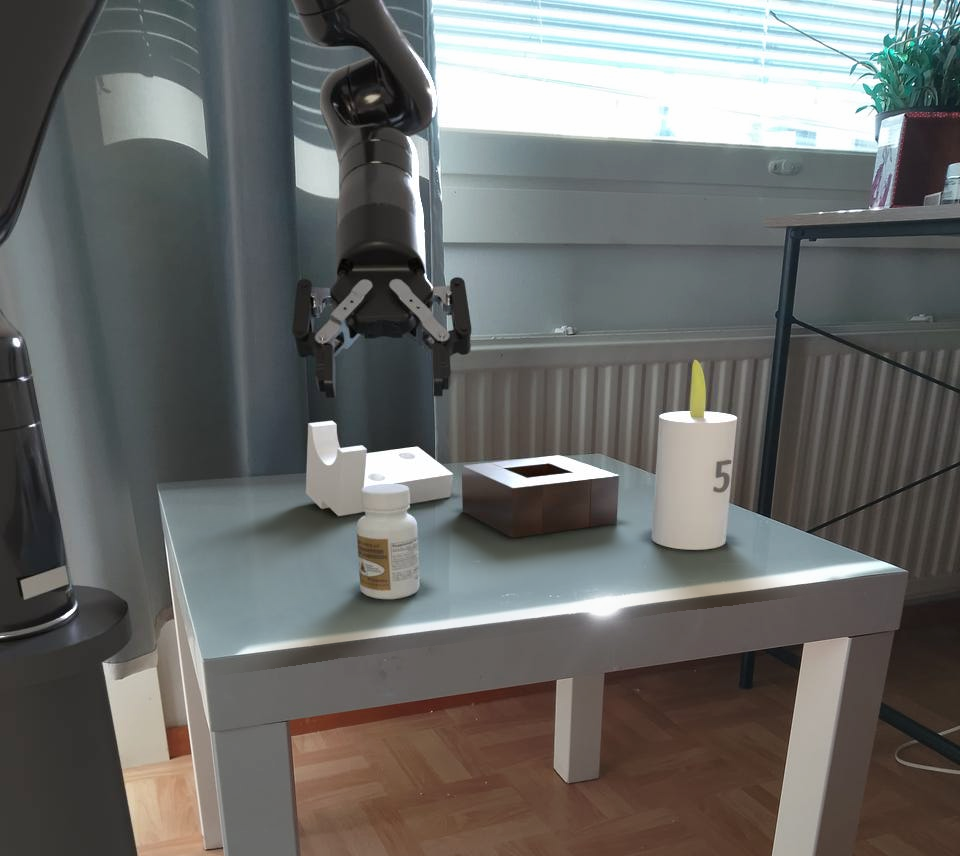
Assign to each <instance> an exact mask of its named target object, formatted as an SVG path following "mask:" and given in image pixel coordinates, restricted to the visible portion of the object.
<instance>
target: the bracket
mask: <svg viewBox="0 0 960 856" xmlns="http://www.w3.org/2000/svg"><path fill="white" fill-rule="evenodd" d="M337 425H338V424H337V423H336V422H334V421H333V420H325V421H315V422H309V423H307V444H306V445H307V446H306V472H305V473H306V474H305V475H306V476H305V477H306V478H305V495H307V496H308V498H309V499H311V500H312V502H314V503H315V504H316V505H317V506H318V507H319V508H320V509H322V510H324V509H330V510H331V511H332V512H333V513H335V514H336V516H337V517H342V516H348V515H353V514H359V513H360V514H361V513H365V511H364V510H363V509H362V503H361V489H362V488H363V487H365V486H369V485H374V484H385V483H389V484H401V485H405V486H407V487H408V488H409V495H410V504H409V505H411V504H412V505H413V504H418V503H424V502H429V501H434V500H440V499H445V498H451V495H452V486H453V478H454V473H452V472H451V471H450V470H449V469H447V468H446V467H445V466H443V465H442V464H441V463H440V462H438V461H437V460H436V459H434V458H433V457H432V456H431V455H429V454H428V453H427V452H425V451H424V450H423V449H421V448H420V447H419V446H413V447H404V448H397V449H389V450H382V451H374V452H368V449H367V448H366V447H365V446H364V445H353V446H345V447H341V445H340V442H339V439H338V431H337Z"/></svg>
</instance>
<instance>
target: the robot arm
mask: <svg viewBox="0 0 960 856" xmlns="http://www.w3.org/2000/svg"><path fill="white" fill-rule="evenodd" d="M108 1H109V0H0V248H1V247H2V246H3V245H4V244H5V243H6V241H7V240H8V239H9V238H10V237H11V234H12V233H13V230H14V229H15V227H16V224H17V222H18V221H19V217H20V215H21V212H22V210H23V207H24V204H25V202H26V198H27V195H28V191H29V189H30V185H31V182H32V180H33V176H34V173H35V170H36V166H37V163H38V160H39V157H40V154H41V151H42V148H43V145H44V142H45V139H46V136H47V133H48V130H49V127H50V124H51V121H52V118H53V115H54V114H55V113H54V112H55V110H56V107H57V105H58V102H59V99H60V96H61V95H62V92H63V90H64V87H65V85H66V84H67V81H68V80H69V77H70V76H71V74H72V72H73V70H74V68H75V66H76V65H77V63H78V61H79V59H80V58H81V56H82V54H83V52H84V50H85V49H86V46H87V45H88V42H89V41H90V39H91V37H92V35H93V32H94V30H95V28H96V26H97V24H98V22H99V20H100V18H101V17H102V15H103V12H104V10H105V8H106V5H107V3H108ZM291 3H292V6H293V8H294V9H295V12H296V14H297V16H298V20H299V22H300V24H301V26H302V28H303V30H304V32H305V35H307V37H308V38H309V40H310V41H311V42H312V43H313V44H314V45H316V46H319V47H321V48H322V47H323V48H340V47H341V48H343V47H355V48H360V49H362V50H364V51H366V52H367V53H368V54H369V55H370V56H368V57H365V58H363V59H360V60H358V61H355V62H352V63H350V64H349V63H348V64H346V65H344V66H341V67H339V68H337V69H334V70H333V71H332V72H330V73H329V74H328V75H327V76H326V78H325V79H324V81H323V82H322V84H321V86H320V91H319V95H318V103H319V109H320V112H321V116H322V119H323V122H324V124H325V126H326V128H327V132H328V134H329V136H330V138H331V140H332V143H333V146H334V150H335V153H336V157H337V162H338V200H337V204H336V213H335V215H336V216H335V220H336V221H335V223H336V224H335V227H336V228H335V231H336V233H335V239H336V240H335V248H336V249H335V254H336V255H335V256H336V257H335V264H336V265H335V268H336V269H335V271H336V273H335V280H334V281H333V283H332V285H331V286H330V287H313V283H312V281H311V280H309V279H308V278H302V279H299V280H298V281H297V282H296V289H295V300H294V310H293V320H292V330H291V331H292V337H293V342H294V347H295V351H296V352H295V353H296V354H297V356H298V357H300V358H308V357H312V358H314V359H315V367H314V368H315V369H314V371H315V372H314V373H315V374H314V375H315V381H316V385H317V389H318V391H319V393H323V392H325V399H336V358H337V356H338V355H339V354H340V353H341V352H342V351H343V350H344V349H346V350H348V349H349V348H350V347H351V346H352V345H353V344H354V343H355V342H356V341H357V340H358V339H359V337H360V336H364V339H370V340H371V339H377V338H382V337H386V338H391V339H403V336H404V335H407V336H408V337H409V338H410V339H411V340H412V341H413V342H414V343H415V344H416V345H417V346H418V347H419V348H421V349H422V348H425V350H426V351H427V352H429V354H430V355H431V365H432V367H431V368H432V369H431V370H432V386H433V397H443V391H445V390H449V389H450V387H451V384H452V383H451V381H452V369H451V357H452V356H453V355H455V354H459V355H461V356H465V355H468V354H470V352H471V349H472V348H471V347H472V345H471V337H472V336H471V335H472V322H471V315H470V310H469V302H468V296H467V289H466V282H465V279H463V277H459V276H457V277H453V278H452V279H450V282H449V285H436V286H433V285H432V284H431V282H430V281H429V280H428V278H427V276H428V275H427V259H426V243H425V242H426V231H425V217H424V216H425V215H424V209H423V205H422V201H421V194H420V177H419V176H420V174H419V172H420V170H419V159H418V153H417V149H416V147H415V144H414V143H413V141H412V139H411V137H413V136H415V135H418V134H421V133H422V132H424V131H426V130H427V129H428V128H429V127H430V126H431V125H432V123H433V120H434V118H435V115H436V108H437V95H436V89H435V86H434V82H433V80H432V77H431V75H430V73H429V71H428V68H427V67H426V66H425V63H424V62H423V60H422V58H421V57H420V56H419V55H418V53H417V51H416V50H415V48H414V47H413V45H412V44H411V43H410V42H409V40H408V38H407V37H406V36H405V35H404V33H403V31H402V30H401V29H400V27H399V25H398V24H397V22H396V21H395V20H394V18H393V16H392V14H391V13H390V11H389V10H388V8H387V6H386V4H385V2H384V0H291ZM433 304H437V305H439V306H440V308H441V310H442V311H443V312H444V313H445V315H446V316H448V317H449V316H451V322H452V329H451V330H448V329H446V328H445V327H444V325H442V324H441V323H440V322H439V321H438V320H437V319H436V318H435V315H434V313H433V312H432V310H431V309H432V307H433ZM327 306H332V308H333V311H332V312H331V313H330V316H329V319H328V321H327V322H326V323H325V324H324V325H323V326H322V327H321V328H320V329H319V330H318V331H317V332H314V327H315V326H314V325H315V318H317V319H318V318H320V317H321V314H322V313H323V311H324V309H325V308H326V307H327ZM26 342H27V341H26V340H25V337H24V336H23V334H22V333H21V332H20V331H19V329H18V328H16V327H15V325H14V324H12V322H11V321H10V320H9V319H8V318H7V317H6V315H5V314H4V313H3V311H2V309H1V308H0V643H2V642H9V641H15V640H20V639H25V638H30V637H34V636H37V635H40V634H44V633H47V632H50V631H52V630H55V629H57V628H59V627H62V626H64V625H66V624H67V623H69V622H70V621H72V620H73V619H74V618H75V617H76V616H77V615H78V612H79V609H78V604H77V600H76V599H75V596H74V587H73V585H74V583H73V580H72V576H71V575H72V574H71V570H70V565H69V558H68V555H67V554H68V553H67V549H66V542H65V538H64V534H63V533H64V532H63V528H62V523H61V517H60V513H59V512H60V511H59V507H58V502H57V497H56V492H55V487H54V486H55V485H54V481H53V476H52V471H51V465H50V459H49V455H48V450H47V444H46V440H45V439H46V438H45V435H44V430H43V424H42V419H41V413H40V409H39V402H38V399H37V393H36V388H35V381H34V378H33V377H34V376H33V371H32V365H31V360H30V356H29V349H28V346H27V343H26Z"/></svg>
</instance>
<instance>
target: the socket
mask: <svg viewBox="0 0 960 856" xmlns="http://www.w3.org/2000/svg"><path fill="white" fill-rule="evenodd" d="M619 483H620V475H619V474H616V473H613V472H610V471H607V470H604V469H600V468H599V467H595V466H592V465H590V464H587V463H583V462H580V461H578V460H574V459H572V458H569V457H566V456H563V455H561V454H559V455H558V454H557V455H549V456H539V457H531V458H529V457H528V458H519V459H511V460H510V459H509V460H503V461H501V460H499V461H491V462H481V463H473V464H464V465H461V501H462V502H461V503H462V509H461V510H462V512H463V513H465V514H467V515H469V516H471V517H473V518H474V519H477V520H478V521H480V522H482V523H484V524H486V525H487V526H489V527H491V528H493V529H495V530H497V531H499V532H501V533H502V534H504V535H506V536H508V537H510V538H512V539H516V538H522V537H523V538H524V537H529V536H537V535H543V534H544V535H545V534H551V533H559V532H565V531H572V530H580V529H586V528H593V527H599V526H600V527H601V526H607V525H614V524H617V522H618V505H619V504H618V503H619Z"/></svg>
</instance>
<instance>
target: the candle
mask: <svg viewBox="0 0 960 856" xmlns="http://www.w3.org/2000/svg"><path fill="white" fill-rule="evenodd" d="M690 387H691V388H690V398H689V410H688V411H687V410H685V411H670V412H664V413H662V414H660V415H659V416H658V417H659V418H658V430H657V447H656V462H655V464H656V465H655V479H654V480H655V482H654V497H653V510H652V513H653V514H652V528H651V541H653V542H654V543H655V544H658V545H660V546H663V547H666V548H670V549H671V548H672V549H676V550H677V549H678V550H688V551H689V550H691V551H693V550H694V551H699V550H700V551H701V550H710V549H717V548H719V547H722V546H724V545H725V544H726V541H727V532H728V531H727V530H728V522H729V521H728V519H729V518H728V517H729V510H730V507H729V506H730V499H731V489H732V477H733V466H734V456H735V445H736V435H737V426H738V425H737V424H738V417H737V416H736V415H733V414H730V413H725V412H717V411H706V404H707V389H706V380H705V375H704V370H703V369H702V366H701V364H700V362H699V361H698V360H697V359H694V360H693V361H692V369H691V386H690Z"/></svg>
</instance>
